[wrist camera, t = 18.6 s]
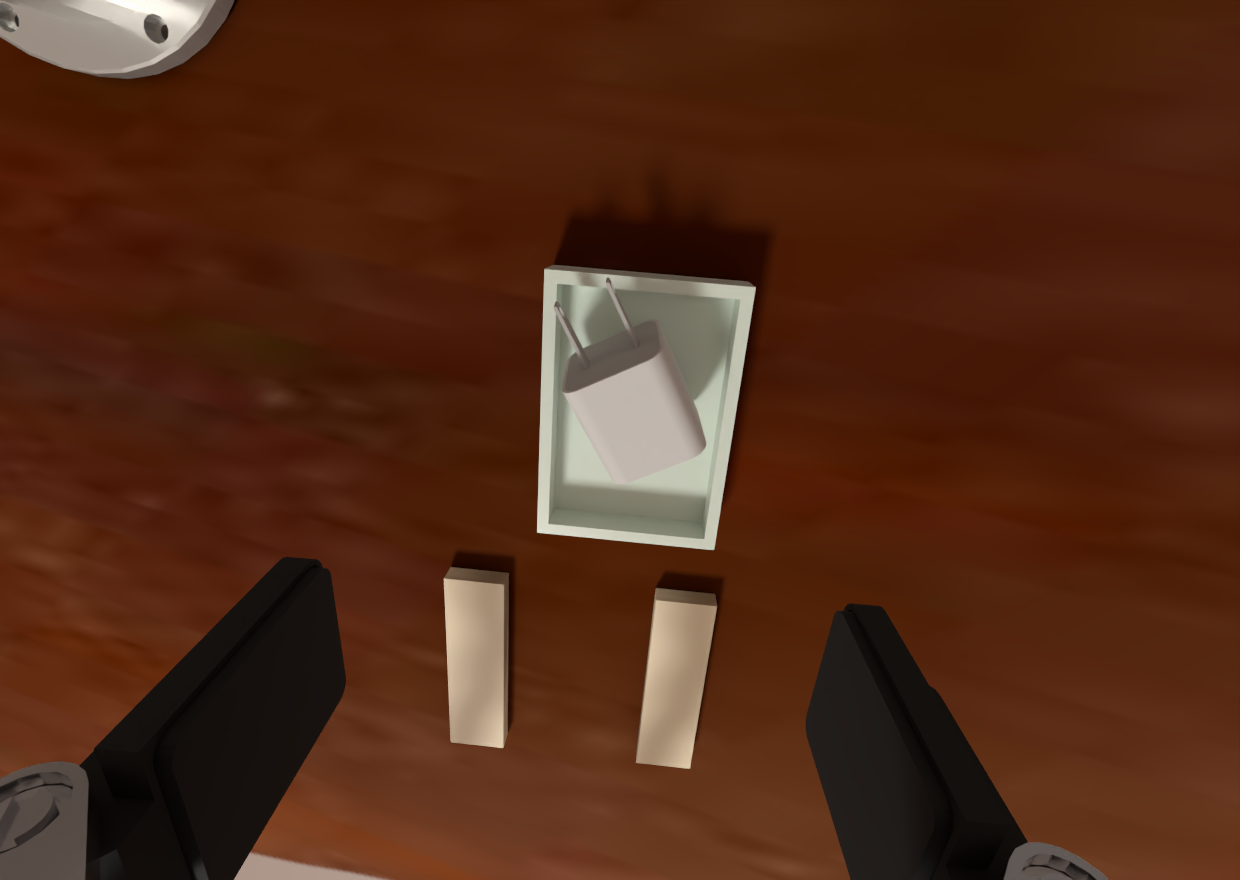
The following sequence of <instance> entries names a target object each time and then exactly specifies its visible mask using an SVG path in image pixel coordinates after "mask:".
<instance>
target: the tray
mask: <svg viewBox="0 0 1240 880" xmlns="http://www.w3.org/2000/svg"><path fill="white" fill-rule="evenodd" d="M606 278H610V280H611V282H612V284H613V286H614V289H615V291H616V293H617V295H618V297H619V299H620V301H621V303H622V306H623V308H624V310H625V312H626V314H627V316H628V319H629V321H630V323H631V325H632V326H634V325H637V324H639V323H641V322H644V321H647V320H652V319H655V320H658V321H659V324H660V326H661V328H662V330H663V333H664V335H665V337H666V340H667V342H668V344H669V346H670V349H671V351H672V353H673V356H674V358H675V360H676V362H677V365H678V367H679V369H680V372H681V374H682V376H683V378H684V381H685V383H686V385H687V388H688V390H689V392H690V395H691V397H692V399H693V401H694V404H695V406H696V408H697V411H698V414H699V417H700V421H701V425H702V428H703V432H704V436H705V439H706V447H705V449H704V450H703V451H702V452H701V453H700V454H699V455H698V456H696V457H694V458H692V459H690V460H687V461H685V462H682V463H679V464H677V465H674V466H671V467H669V468H666V469H664V470H661V471H658V472H656V473H653V474H650V475H648V476H645V477H642V478H640V479H637V480H635V481H632V482H629V483H626V484H616V483H614V482H613V481H612V479H611V477H610V476H609V474H608V472H607V470H606V469H605V467H604V465H603V463H602V461H601V460H600V458H599V456H598V454H597V453H596V451H595V449H594V447H593V445H592V444H591V442H590V440H589V438H588V437H587V435H586V433H585V431H584V429H583V428H582V426H581V424H580V422H579V420H578V419H577V417H576V415H575V413H574V412H573V410H572V408H571V406H570V404H569V403H568V401H567V399H566V397H565V396H564V394H563V392H562V384H563V379H564V373H565V367H566V362H567V359H568V358H569V357H570V356H571V355H572V354H574V353H575V352H576V351H575V349H574V347H573V346H572V344H571V342H570V340H569V338H568V336H567V334H566V332H565V330H564V328H563V326H562V324H561V322H560V320H559V318H558V316H557V315H556V313H555V311H554V305H555V302H556V301H558V302H559V304H560V306H561V307H562V309H563V311H564V313H565V315H566V317H567V318H568V320H569V322H570V324H571V326H572V328H573V330H574V332H575V334H576V336H577V338H578V340H579V341H580V343H581V345H582V347H583V348H584V347H586V346H589V345H591V344H593V343H596V342H598V341H600V340H602V339H605V338H607V337H609V336H612V335H614V334H616V333H618V332H621V331H623V330H625V329H626V327H625V325H624V323H623V321H622V319H621V317H620V314H619V312H618V310H617V308H616V306H615V304H614V302H613V299H612V297H611V295H610V293H609V291H608V288H607V286H606ZM755 290H756V287H755V286H754V285H752V284H751V283H750V282H748V281H737V280H725V279H714V278H702V277H690V276H679V275H667V274H655V273H644V272H632V271H620V270H609V269H597V268H586V267H574V266H562V265H552V266H550V267H548V268H546V269H544V303H543V338H542V374H541V410H540V446H539V482H538V518H537V533H547V534H557V535H567V536H577V537H587V538H598V539H608V540H618V541H628V542H638V543H648V544H658V545H668V546H678V547H688V548H698V549H708V550H714V547H715V541H716V535H717V529H718V522H719V516H720V510H721V503H722V497H723V491H724V485H725V478H726V472H727V466H728V459H729V453H730V447H731V441H732V434H733V428H734V422H735V415H736V409H737V403H738V397H739V390H740V384H741V378H742V372H743V365H744V359H745V353H746V346H747V340H748V334H749V328H750V321H751V315H752V309H753V302H754V296H755Z"/></svg>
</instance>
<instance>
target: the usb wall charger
mask: <svg viewBox="0 0 1240 880" xmlns="http://www.w3.org/2000/svg"><path fill="white" fill-rule="evenodd" d="M606 286H607V288H608V291H609V293H610V295H611V297H612V299H613V302H614V304H615V306H616V308H617V310H618V312H619V314H620V317H621V319H622V321H623V323H624V325H625V327H626V329H625V330H623V331H621V332H618V333H616V334H614V335H612V336H609V337H607V338H605V339H602V340H600V341H598V342H596V343H593V344H591V345H589V346H586V347H584V348H583V347H582V345H581V343H580V341H579V340H578V338H577V336H576V334H575V332H574V330H573V328H572V326H571V324H570V322H569V320H568V318H567V317H566V315H565V313H564V311H563V309H562V307H561V306H560V304H559V302H558V301H556V302H555V305H554V311H555V313H556V315H557V316H558V318H559V320H560V322H561V324H562V326H563V328H564V330H565V332H566V334H567V336H568V338H569V340H570V342H571V344H572V346H573V347H574V349H575V351H576V352H575V353H574V354H572V355H571V356H570V357H569V358H568V359H567V362H566V367H565V373H564V379H563V384H562V392H563V394H564V396H565V397H566V399H567V401H568V403H569V404H570V406H571V408H572V410H573V412H574V413H575V415H576V417H577V419H578V420H579V422H580V424H581V426H582V428H583V429H584V431H585V433H586V435H587V437H588V438H589V440H590V442H591V444H592V445H593V447H594V449H595V451H596V453H597V454H598V456H599V458H600V460H601V461H602V463H603V465H604V467H605V469H606V470H607V472H608V474H609V476H610V477H611V479H612V481H613V482H614V483H616V484H626V483H629V482H632V481H635V480H637V479H640V478H642V477H645V476H648V475H650V474H653V473H656V472H658V471H661V470H664V469H666V468H669V467H671V466H674V465H677V464H679V463H682V462H685V461H687V460H690V459H692V458H694V457H696V456H698V455H699V454H700V453H701V452H702V451H703V450H704V449H705V447H706V439H705V436H704V432H703V428H702V425H701V421H700V417H699V414H698V411H697V408H696V406H695V404H694V401H693V399H692V397H691V395H690V392H689V390H688V388H687V385H686V383H685V381H684V378H683V376H682V374H681V372H680V369H679V367H678V365H677V362H676V360H675V358H674V356H673V353H672V351H671V349H670V346H669V344H668V342H667V340H666V337H665V335H664V333H663V330H662V328H661V326H660V324H659V321H658V320H655V319H652V320H647V321H644V322H641V323H639V324H637V325H634V326H632V325H631V323H630V321H629V319H628V316H627V314H626V312H625V310H624V308H623V306H622V303H621V301H620V299H619V297H618V295H617V293H616V291H615V289H614V286H613V284H612V282H611V280H610V278H606Z"/></svg>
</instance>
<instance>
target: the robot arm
mask: <svg viewBox="0 0 1240 880" xmlns="http://www.w3.org/2000/svg"><path fill="white" fill-rule="evenodd" d="M233 3H234V0H0V37H1V38H3V39H4V40H6V41H8V42H9V43H11V44H13V45H14V46H16V47H18V48H19V49H21V50H23V51H24V52H26V53H28V54H29V55H32V56H34V57H37V58H39V59H42V60H44V61H47V62H49V63H52V64H54V65H57V66H59V67H62V68H65V69H70V70H74V71H78V72H82V73H86V74H90V75H94V76H99V77H111V78H124V79H131V78H137V77H144V76H150V75H156V74H159V73H162V72H164V71H166V70H168V69H171V68H173V67H175V66H178V65H180V64H182V63H184V62H185V61H187V60H188V59H189V58H190V57H192V56H193V55H194V54H195V53H197V52H198V51H199V50H200V49H202V48H203V47H204V46H205V45H207V44H208V42H209V41H210V40H211V38H212V37H213V36H214V34H215V33H216V32H217V30H218V29H219V28H220V26H221V25H222V24H223V23H224V21H225V20H226V18H227V16H228V14H229V11H230V9H231V7H232V5H233ZM345 684H346V676H345V669H344V662H343V655H342V648H341V641H340V634H339V627H338V620H337V613H336V607H335V600H334V593H333V586H332V579H331V574H330V571H329V570H328V569H326V568H323V567H322V564H321V563H320V561H319V560H316V559H305V558H293V557H285V558H282V559H281V560H280V561H279V562H278V563H277V564H276V565H275V566H274V567H273V568H272V569H271V570H270V571H269V572H268V573H267V574H266V575H265V576H264V577H263V578H262V579H261V580H260V581H259V582H258V583H257V584H256V585H255V586H254V587H253V588H252V589H251V590H250V591H249V592H248V593H247V594H246V595H245V596H244V597H243V598H242V599H241V600H240V601H239V602H238V603H237V604H236V605H235V606H234V607H233V608H232V609H231V610H230V611H229V612H228V613H227V614H226V615H225V616H224V617H223V618H222V619H221V620H220V621H219V622H218V623H217V624H216V625H215V626H214V627H213V628H212V629H211V630H210V631H209V632H208V634H207V635H206V636H205V637H204V638H203V639H202V640H201V641H200V642H199V643H198V644H197V645H196V646H195V647H194V648H193V649H192V650H191V651H190V652H189V653H188V654H187V655H186V656H185V657H184V658H183V659H182V660H181V661H180V662H179V663H178V664H177V665H176V666H175V667H174V668H173V669H172V670H171V671H170V672H169V673H168V674H167V675H166V676H165V677H164V678H163V679H162V680H161V681H160V682H159V683H158V684H157V685H156V686H155V687H154V688H153V689H152V690H151V691H150V692H149V693H148V694H147V695H146V696H145V697H144V698H143V699H142V700H141V701H140V702H139V703H138V704H137V705H136V706H135V708H134V709H133V710H132V711H131V712H130V713H129V714H128V715H127V716H126V717H125V718H124V719H123V720H122V721H121V722H120V723H119V724H118V725H117V726H116V727H115V728H114V729H113V730H112V731H111V732H110V733H109V734H108V735H107V736H106V737H105V738H104V739H103V740H102V741H101V742H100V743H99V744H98V745H97V746H96V747H95V748H94V751H93V752H92V753H91V754H90V755H89V756H88V758H87V759H86V760H85V761H84V762H83V763H82V764H81V765H80V766H78V765H77V764H74V763H68V762H62V761H59V762H50V763H41V764H37V765H34V766H31V767H27V768H24V769H20V770H18V771H15V772H13V773H11V774H9V775H7V776H4V777H2V778H0V880H234V878H235V877H236V875H237V873H238V871H239V870H240V868H241V866H242V865H243V863H244V861H245V859H246V858H247V856H248V855H249V853H250V851H251V850H252V848H253V846H254V845H255V843H256V841H257V840H258V838H259V836H260V834H261V833H262V831H263V829H264V828H265V826H266V824H267V823H268V821H269V819H270V818H271V816H272V814H273V813H274V811H275V809H276V808H277V806H278V804H279V802H280V801H281V799H282V797H283V796H284V794H285V792H286V791H287V789H288V787H289V786H290V784H291V782H292V781H293V779H294V777H295V776H296V774H297V772H298V770H299V769H300V767H301V765H302V764H303V762H304V760H305V759H306V757H307V755H308V754H309V752H310V750H311V749H312V747H313V745H314V744H315V742H316V740H317V738H318V737H319V735H320V733H321V732H322V730H323V728H324V727H325V725H326V723H327V722H328V720H329V718H330V717H331V715H332V713H333V712H334V710H335V708H336V706H337V705H338V703H339V701H340V700H341V698H342V695H343V692H344V689H345ZM806 733H807V738H808V742H809V745H810V748H811V751H812V755H813V758H814V761H815V764H816V768H817V771H818V774H819V777H820V781H821V784H822V787H823V790H824V794H825V797H826V800H827V803H828V807H829V810H830V813H831V817H832V820H833V823H834V826H835V830H836V833H837V836H838V839H839V843H840V846H841V849H842V852H843V856H844V859H845V862H846V865H847V869H848V872H849V875H850V878H851V880H1109V879H1108V878H1106V877H1105V876H1104V875H1103V874H1102V873H1101V872H1100V871H1098V870H1097V869H1096V868H1094V867H1093V866H1091V865H1090V864H1089V863H1087V862H1086V861H1085V860H1083V859H1082V858H1080V857H1078V856H1076V855H1074V854H1072V853H1070V852H1068V851H1066V850H1064V849H1062V848H1060V847H1056V846H1052V845H1049V844H1045V843H1028V842H1027V840H1026V838H1025V837H1024V835H1023V833H1022V832H1021V830H1020V828H1019V827H1018V825H1017V823H1016V821H1015V820H1014V818H1013V816H1012V815H1011V813H1010V811H1009V810H1008V808H1007V806H1006V805H1005V803H1004V801H1003V800H1002V798H1001V796H1000V795H999V793H998V791H997V790H996V788H995V786H994V785H993V783H992V781H991V780H990V778H989V776H988V775H987V773H986V771H985V770H984V768H983V766H982V765H981V763H980V761H979V760H978V758H977V756H976V755H975V753H974V751H973V750H972V748H971V746H970V745H969V743H968V741H967V740H966V738H965V736H964V735H963V733H962V731H961V730H960V728H959V726H958V724H957V723H956V721H955V719H954V718H953V716H952V714H951V713H950V711H949V709H948V708H947V706H946V704H945V703H944V701H943V699H942V698H941V696H940V695H939V694H938V692H937V691H936V690H935V689H934V688H932V687H931V686H929V685H928V683H927V681H926V679H925V678H924V676H923V674H922V673H921V671H920V669H919V668H918V666H917V664H916V662H915V661H914V659H913V657H912V656H911V654H910V652H909V651H908V649H907V647H906V645H905V644H904V642H903V640H902V639H901V637H900V635H899V633H898V632H897V630H896V628H895V627H894V625H893V623H892V622H891V620H890V618H889V616H888V615H887V613H886V611H885V610H884V609H883V608H882V607H880V606H873V605H861V604H848V605H847V606H846V607H845V609H844V611H837V612H836V613H835V615H834V618H833V622H832V625H831V629H830V633H829V636H828V640H827V644H826V647H825V651H824V654H823V658H822V662H821V665H820V669H819V673H818V676H817V680H816V683H815V687H814V691H813V694H812V698H811V701H810V705H809V709H808V712H807V717H806Z"/></svg>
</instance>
